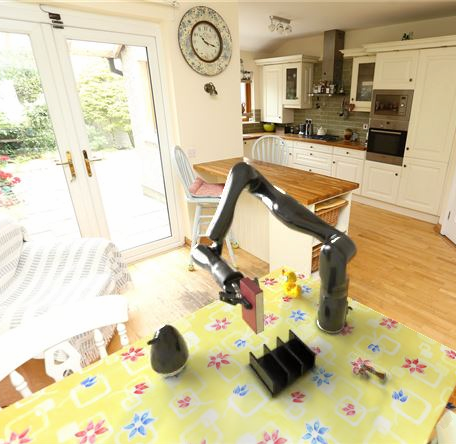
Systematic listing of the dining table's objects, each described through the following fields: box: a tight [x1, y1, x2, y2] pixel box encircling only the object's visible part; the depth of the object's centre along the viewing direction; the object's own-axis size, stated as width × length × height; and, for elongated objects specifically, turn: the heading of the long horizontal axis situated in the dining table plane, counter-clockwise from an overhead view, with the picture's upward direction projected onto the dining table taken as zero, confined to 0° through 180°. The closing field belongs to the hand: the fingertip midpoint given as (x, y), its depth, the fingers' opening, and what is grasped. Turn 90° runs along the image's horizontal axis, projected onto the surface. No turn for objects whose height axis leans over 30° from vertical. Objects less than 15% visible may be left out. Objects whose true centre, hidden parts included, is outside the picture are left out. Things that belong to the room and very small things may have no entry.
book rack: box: [248, 329, 317, 398], centre depth 84 cm, size 16×12×6 cm
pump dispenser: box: [146, 323, 190, 378], centre depth 81 cm, size 10×10×15 cm
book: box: [240, 276, 265, 335], centre depth 82 cm, size 3×8×14 cm, turn 37°
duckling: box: [281, 269, 303, 299], centre depth 114 cm, size 11×5×10 cm, turn 39°
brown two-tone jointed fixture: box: [355, 362, 388, 383], centre depth 82 cm, size 2×8×4 cm, turn 81°
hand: (255, 305), depth 80 cm, fingers closed on book, 2 cm apart
